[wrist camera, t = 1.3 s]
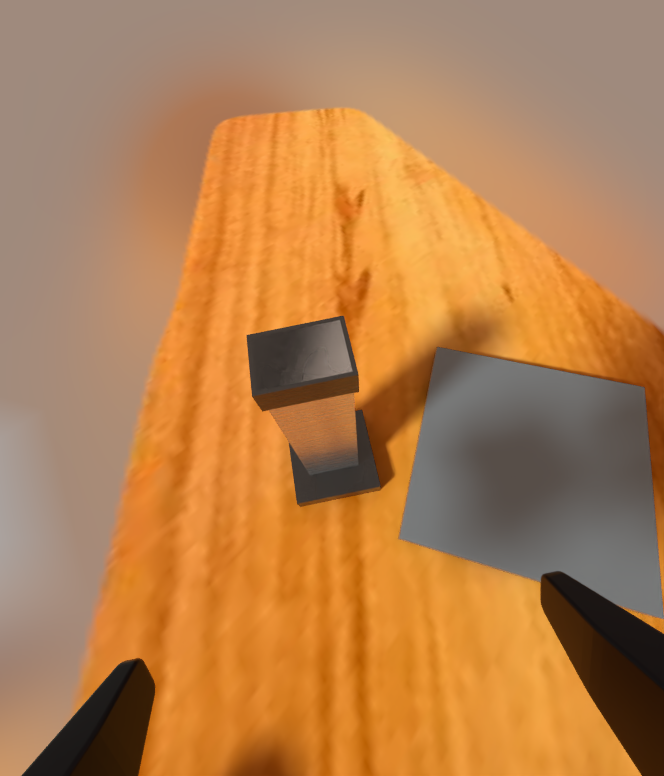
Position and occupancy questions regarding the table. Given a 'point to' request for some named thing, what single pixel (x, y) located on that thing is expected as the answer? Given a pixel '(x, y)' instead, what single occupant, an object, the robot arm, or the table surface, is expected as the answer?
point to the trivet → (537, 476)
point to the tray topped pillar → (315, 407)
